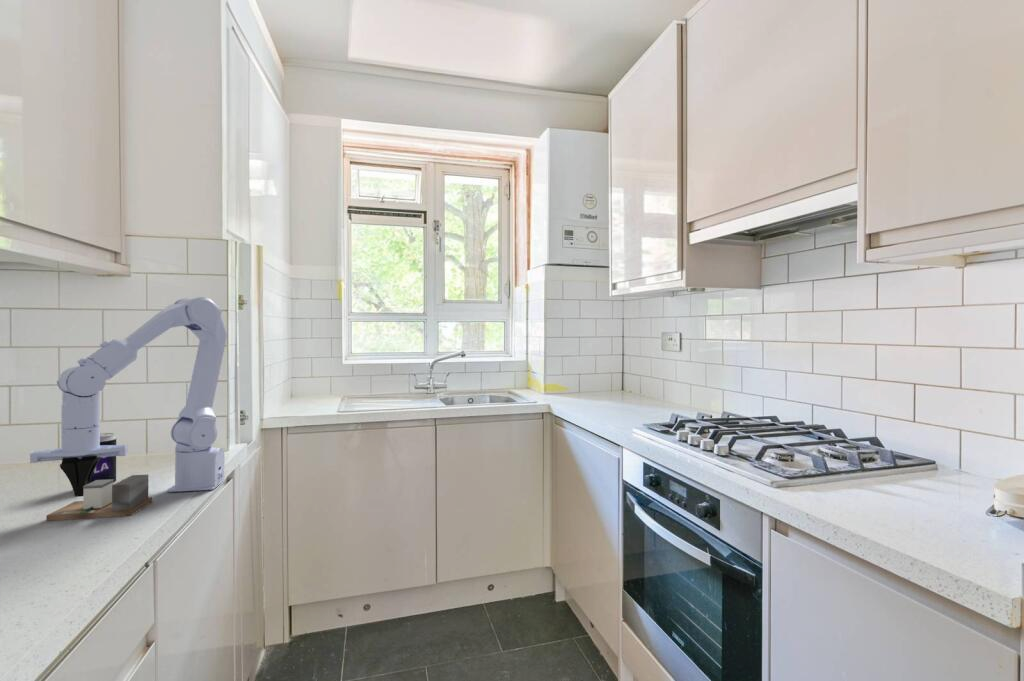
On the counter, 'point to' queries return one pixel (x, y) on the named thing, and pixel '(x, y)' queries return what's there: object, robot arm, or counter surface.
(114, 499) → the frame
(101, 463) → the beverage can
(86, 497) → the block
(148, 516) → the counter surface
